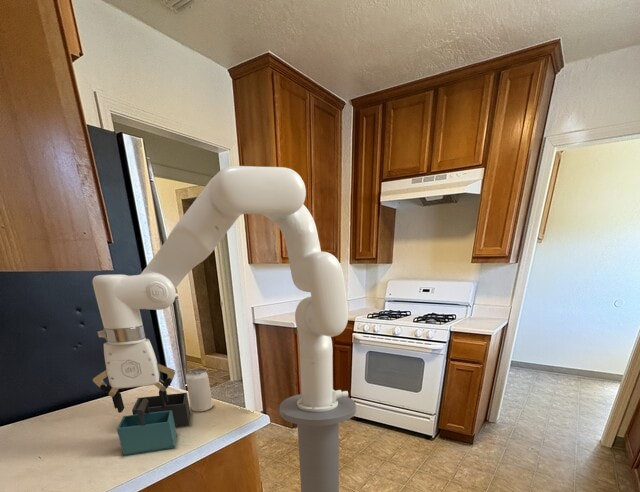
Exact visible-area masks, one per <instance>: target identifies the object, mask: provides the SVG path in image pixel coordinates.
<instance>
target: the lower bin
mask: <svg viewBox="0 0 640 492" xmlns="http://www.w3.org/2000/svg"><path fill="white" fill-rule="evenodd" d="M167 397H168V402H167V403H166V406H165V407H162V406H161V401H160V397H159V395H152V396H144V397H142V396H141V397H138V398H136V399H137V400H136V401H135V403H134V405H133V406H132V409H131V412H132V415H136V414H137V411H138V408H139V406H140V404H141V402H142V400H143V399H148V407H149V411H150V413H153V412H161V411H169V410H172V413H173V418H174V423H175V428H176V429H177V428H184V427H190V424H191V406H190V401H189V395H188V392H177V393H171V394H170V393H169V394H167ZM145 413H146V411H144V414H145Z"/></svg>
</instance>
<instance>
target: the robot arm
mask: <svg viewBox="0 0 640 492" xmlns="http://www.w3.org/2000/svg"><path fill="white" fill-rule="evenodd" d="M306 196H307V189H306V185H305V182H304V180H303V179H302V176H301V175H300V174H299V173H298V172H297V171H295V170H294V169H292V168H289V167H283V166H255V165H254V166H252V165H251V166H250V165H231V166H225V167H223V168H221V170H219V171H218V172H216V174H215V175H213V176H212V178H211V179H210V180H209V181H208V182H207V183H206V185H205V186H204V187H203V189H202V190H201V191H200V193H199V194H198V196H197V197H196V198H195V200H194V201H193V202H192V204H191V205H190V206H189V207H188V209H187V210H186V211H185V213H184V214H183V215H182V216H181V217H180V219H179V221H178V222H177V223H176V224H175V226H174V227H173V229H172V230H171V232H170V233H169V235H168V236H167V238H166V240H165V241H164V242H163V244H162V245H161V246H160V248H159V249H158V251H157V252H156V253H155V255H154V256H153V258H152V259H151V260H150V261H149V262H148V264H146V267H145V268H144V269H143V270H142V272H141V273H140V274H134V275H127V274H120V273H119V274H99V275H95V276H94V277H93V278H92V287H93V291H94V295H95V299H96V302H97V307H98V310H99V314H100V319H101V322H102V325H103V329H102V330H99V331H98V330H97V336H98V338H102V339H105V341H106V342H104V343H103V355H104V363H105V370H102V372H100V373H99V374H97V375H96V376H94V377H93V378H92V382H93V383H94V384H95V385H96V386H98V388H99V389H100V390H101V391H102V392H104V393H106V394H107V395H108V396H109V397H111V400H112V403H113V407H114V409H117V412H118V413H119V414H120V413H122V412H123V411H124V409H125V405H124V401H123V397H122V393H120V391H119V390H120V389H129V388H139V387H148V386H155V387H156V388H157V389H158V396H159V397H160V401H161V406H162V407H165V406H166V403H167V402H168V397H167V395H168V392H167V389H168V387H169V386H170V385H171V384H172V383H173V380H174V377H175V375H176V369H173V368H170V367H168V366H165V365H163V364H160V363H158V360H157V357H156V353H155V351H154V348H153V346H152V343H151V341H150V339H149V338H147V337H146V333H145V329H144V325H143V319H142V315H141V311H140V310H153V311H156V310H157V311H162V310H165V309H168V308H169V307H171V306H172V305H173V303H174V302H175V300H176V296H177V295H176V294H177V292H176V289H177V288H178V286H179V285H180V284H181V283H182V281H183V280H184V278H186V276H187V275H189V273H190V272H191V271H192V270H193V269H194V268H195V267H196V266H198V265H199V264H200V263H203V262H204V261H205V260H206V259H207V258H208V257H210V255H211V254H212V253H213V252H214V250H215V249H216V248H217V246H218V245H219V243H220V242H221V241H222V239H224V237H225V236H226V234H227V233H228V232H229V230H230V229H231V228H232V227H233V225H234V224H235V223H236V221H237V220H238V219H239V218H240V216H242V215H262V216H264V218H265V217H266V218H267V219H269V220H271V221H272V222H273V223H274V224H275V225H276V226H277V227H278V229H279V230H280V232H281V234H282V236H283V239H284V243H285V247H286V253H287V258H288V264H289V269H290V274H291V278H292V282H293V284H294V286H295V287H296V288H297V289H298V290H299V291H302V292H306V293H310V296H307V297H304V298H303V299H301V300H300V301H299V302H298V304H297V305H296V307H295V313H294V318H295V326H296V330H297V336H298V337H297V338H298V345H299V347H298V349H299V365H300V366H299V367H300V369H299V370H300V390H301V391H300V392H301V393H300V394H302V398H300V399H299V400H298V401H297V407H298V408H299V409H301V410H303V411H307V412H325V411H330V410H332V409H335V408H336V407H337V406H338V400H337V399H339V398H344V397H349V392H348V390H343V391H342V389H337V390H335V389H334V377H333V376H334V375H333V373H334V371H333V369H334V368H333V366H334V365H333V362H334V361H333V360H334V359H333V352H334V351H333V340H332V338H334V337H337V336H339V335H341V334H342V333H343V332H344V331H345V329H346V327H347V325H348V321H349V307H348V298H347V291H346V290H347V289H346V281H345V275H344V271H343V267H342V265H341V263H340V261H339V260H338V258H337V257H336V256H335V255H333V254H332V253H330V252H327V251H322V249H321V244H320V238H319V234H318V229H317V224H316V222H315V219H314V217H313V215H312V214H311V212H310V211H309V209H308V208H307V206H306V205H305V204H304V203H305V201H306ZM161 373H163V374H166V375H167V377H166V379H165V380H164V381H163V380H162V379H161ZM106 378H107V380H108V382H109V384H107V383H106V382H105V381H104V379H106Z"/></svg>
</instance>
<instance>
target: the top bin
mask: <svg viewBox="0 0 640 492" xmlns="http://www.w3.org/2000/svg"><path fill="white" fill-rule="evenodd" d="M144 411H146V413H145V414H144ZM116 432H117V437H118V440H119V443H120V446H121V450H122V454H123V457H126V456H132V455H133V456H134V455H139V454H146V453H147V454H148V453H153V452H159V451H166V450H172V449H175V448H176V443H177V441H176V440H177V438H178V437H177V436H178V435H177V428H175V423H174V418H173V413H172V410H169V411H161V412H153V413H150V411H149V407H148V399H143V400H142V402H141V404H140V406H139V408H138V411H137V414H136V415H133V414H130V415H123V417H122V418H121V420H120V422H119V424H118V425H117V427H116Z"/></svg>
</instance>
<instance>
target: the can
mask: <svg viewBox="0 0 640 492" xmlns="http://www.w3.org/2000/svg"><path fill="white" fill-rule="evenodd" d="M185 382H186V386H187V395H188V400H189V406H190V410H192V411H193V412H197V413H198V412H199V413H201V412H207V411H209V410H211V409H212V408H213V398H212V392H211V391H212V390H211V384H210V379H209V375H208V373H207V370H206V369H205V368H192V369H188V370H186V374H185Z"/></svg>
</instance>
